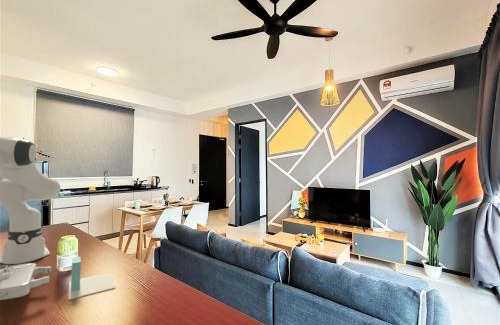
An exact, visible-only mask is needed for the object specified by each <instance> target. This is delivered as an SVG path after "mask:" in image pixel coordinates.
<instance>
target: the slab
mask: <svg viewBox="0 0 500 325" xmlns="http://www.w3.org/2000/svg"><path fill="white" fill-rule="evenodd" d="M81 259H82V258H81V256H77V257H72V262H71V274H70V275H71V277H70V281H71V291H74V290H79V289H80V279H81V269H82V268H81V265H82V264H81V262H82V260H81Z"/></svg>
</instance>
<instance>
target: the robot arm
mask: <svg viewBox="0 0 500 325" xmlns="http://www.w3.org/2000/svg"><path fill="white" fill-rule="evenodd" d="M37 153H38V151H37V147H36V145H35V144H34V143H33V142H32V141H31V140H27V139H23V138H17V137H11V136H8V137H4V136H0V204H1V205H2V206H3V207H4V208H5V210H6V211H7V213H8V214H7V215H8V219H9V230H8V232H7V241H6V242H4V243H3V244H2V252H1V253H2V254H1V257H0V264H4V265H0V301H2V300H4V301H5V300H9V299H15V298H16V299H17V298H21V297H24V296H27V295H28V294H29V292H30V290H31V289H32V288H36V287H39V286H41V285H44V284H48V283H49V282H50V275H45V276H42V277H40V278H38V279H36V278H35V276H36V275H40V274H48V273H51V272H52V266H51V265H50V266H37V263H35V262H33V261H36V260H39V259H41V258H43V257H46V256H49V255H51V253H50V250H49V249H48V247H47V245H46V239H45V237H43V236H42V234H43V233H42V232H43V228H42V227H41V226H42V213H41V211H40V210H39V209H37V208H36V207H35V208H34V207H32V206H30V205H29V204H28V203H27V201H28V202H29V201H47V200H51V199H55V198H56V197H58V195H59V194H60V192H61V187H62V186H61V185H60V182H59V181H58V180H57V179H54V178H51V177H49V176H47V175H45V174H44V173H42V172H41V171H40V170H39V169H38V168H37V166H36V164H35V162H34V161H35V160H36V157H37ZM3 177H4V178H3ZM34 278H35V279H34Z"/></svg>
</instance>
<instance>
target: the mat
mask: <svg viewBox="0 0 500 325" xmlns="http://www.w3.org/2000/svg"><path fill="white" fill-rule="evenodd" d="M114 289H116V286H115V282H114V278H113V276H112V273H111V271H110V272H106V273H101V274H97V275H90V276H87V277H82V278H80V289H79V290H74V291H71V280H69V282H68V301H70V300H74V299H78V298H81V297H82V298H83V297H86V296H90V295H95V294H99V293H102V292H106V291H110V290H114Z"/></svg>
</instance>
